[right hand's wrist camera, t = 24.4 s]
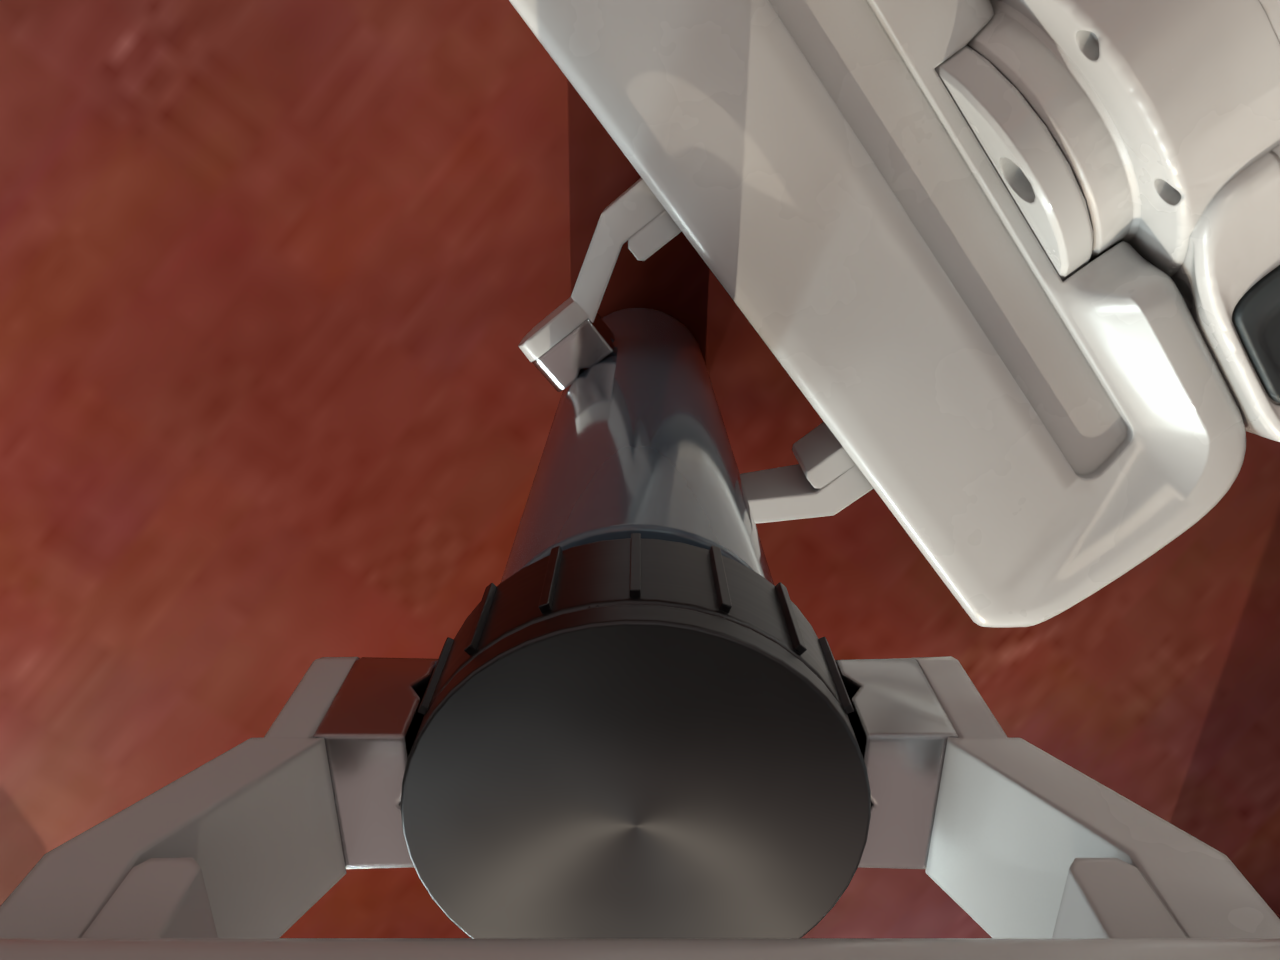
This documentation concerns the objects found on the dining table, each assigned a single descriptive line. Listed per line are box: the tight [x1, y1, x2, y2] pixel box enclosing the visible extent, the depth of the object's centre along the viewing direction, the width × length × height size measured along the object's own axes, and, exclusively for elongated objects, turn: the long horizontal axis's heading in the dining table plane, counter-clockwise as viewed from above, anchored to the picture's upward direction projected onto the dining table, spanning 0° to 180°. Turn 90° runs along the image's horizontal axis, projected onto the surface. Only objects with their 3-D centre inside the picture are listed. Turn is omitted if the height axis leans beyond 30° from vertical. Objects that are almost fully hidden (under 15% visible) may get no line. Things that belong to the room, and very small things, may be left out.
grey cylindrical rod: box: [501, 308, 774, 585], centre depth 18 cm, size 4×4×18 cm
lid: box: [400, 533, 871, 939], centre depth 10 cm, size 5×5×2 cm
